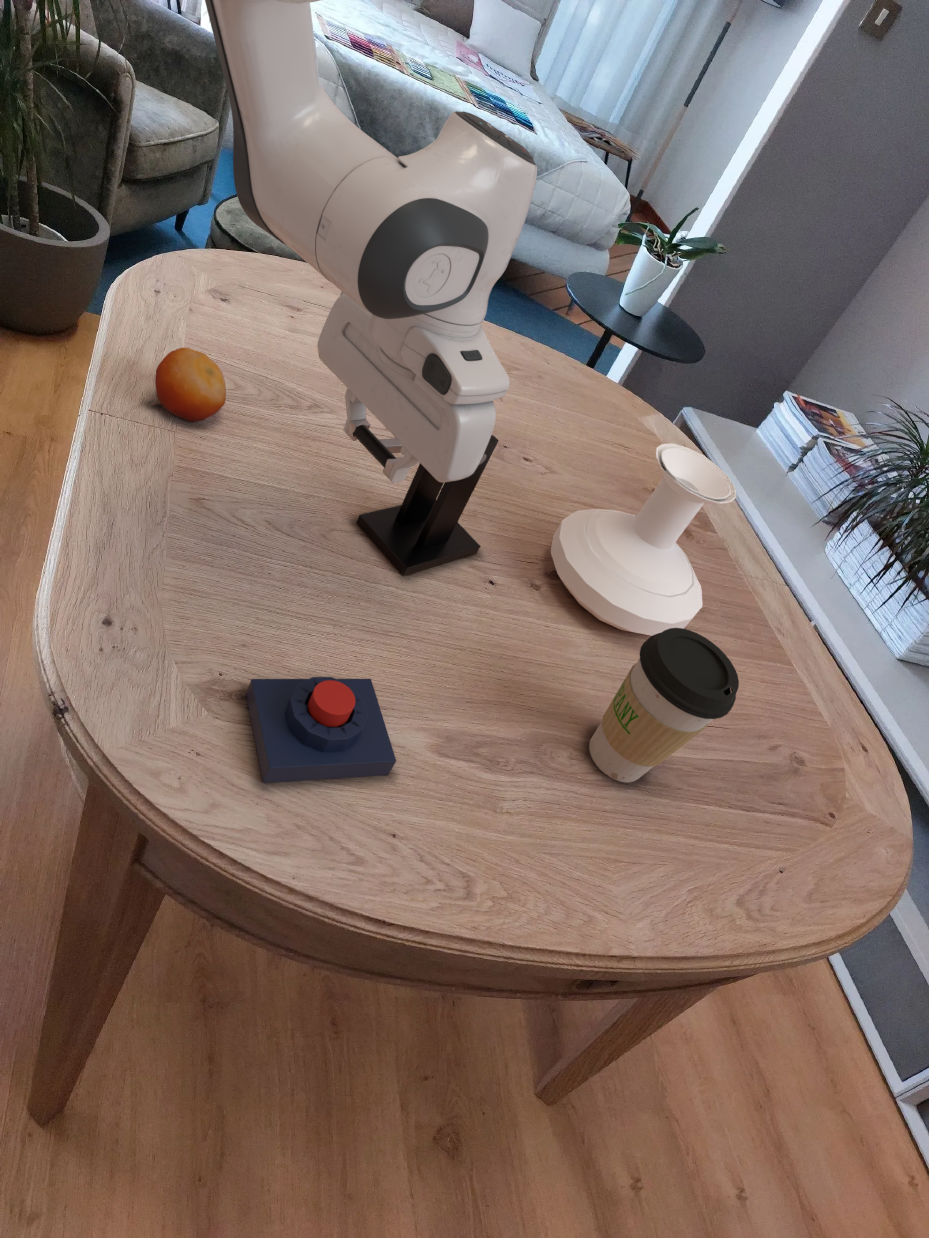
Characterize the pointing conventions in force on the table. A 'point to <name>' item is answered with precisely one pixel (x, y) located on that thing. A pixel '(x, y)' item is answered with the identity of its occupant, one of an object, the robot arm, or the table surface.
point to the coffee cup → (663, 703)
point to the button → (331, 703)
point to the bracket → (426, 521)
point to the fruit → (190, 385)
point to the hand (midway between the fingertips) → (373, 456)
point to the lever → (377, 444)
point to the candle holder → (642, 549)
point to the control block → (316, 733)
